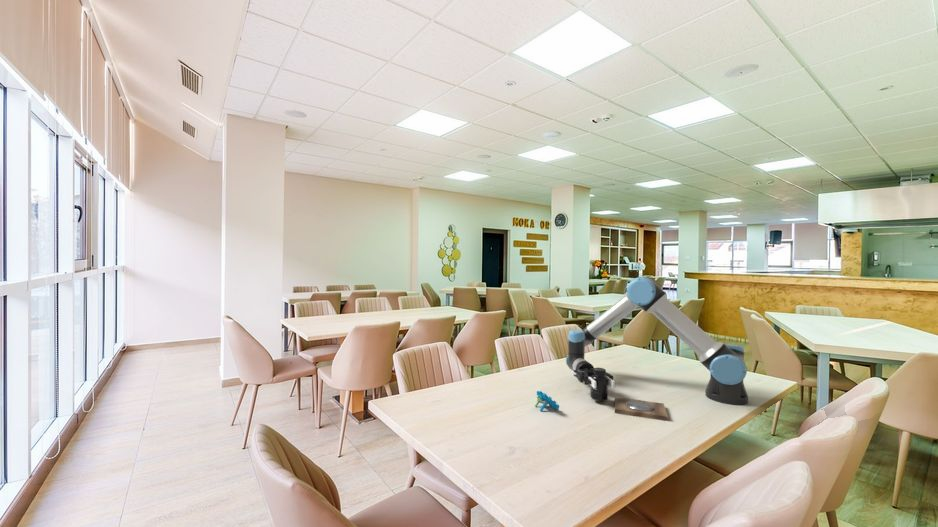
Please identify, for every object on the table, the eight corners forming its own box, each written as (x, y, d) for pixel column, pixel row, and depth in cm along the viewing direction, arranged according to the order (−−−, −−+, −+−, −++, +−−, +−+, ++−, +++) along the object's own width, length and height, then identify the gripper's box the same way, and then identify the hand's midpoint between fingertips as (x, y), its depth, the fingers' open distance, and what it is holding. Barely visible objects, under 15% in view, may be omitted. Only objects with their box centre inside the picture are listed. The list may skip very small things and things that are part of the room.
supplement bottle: (589, 399, 155) (589, 370, 155) (591, 394, 162) (591, 366, 161) (607, 402, 153) (607, 372, 153) (608, 396, 159) (608, 367, 159)
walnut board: (663, 407, 152) (663, 402, 152) (667, 420, 139) (667, 415, 139) (615, 400, 159) (615, 396, 159) (614, 413, 146) (614, 408, 146)
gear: (565, 408, 145) (548, 391, 143) (556, 422, 143) (539, 404, 141) (548, 402, 155) (532, 386, 153) (540, 415, 153) (523, 398, 151)
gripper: (604, 376, 176) (628, 394, 153) (562, 377, 174) (580, 394, 151) (604, 360, 176) (628, 375, 153) (562, 360, 174) (580, 375, 151)
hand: (604, 385), depth 152 cm, fingers closed on supplement bottle, 7 cm apart
